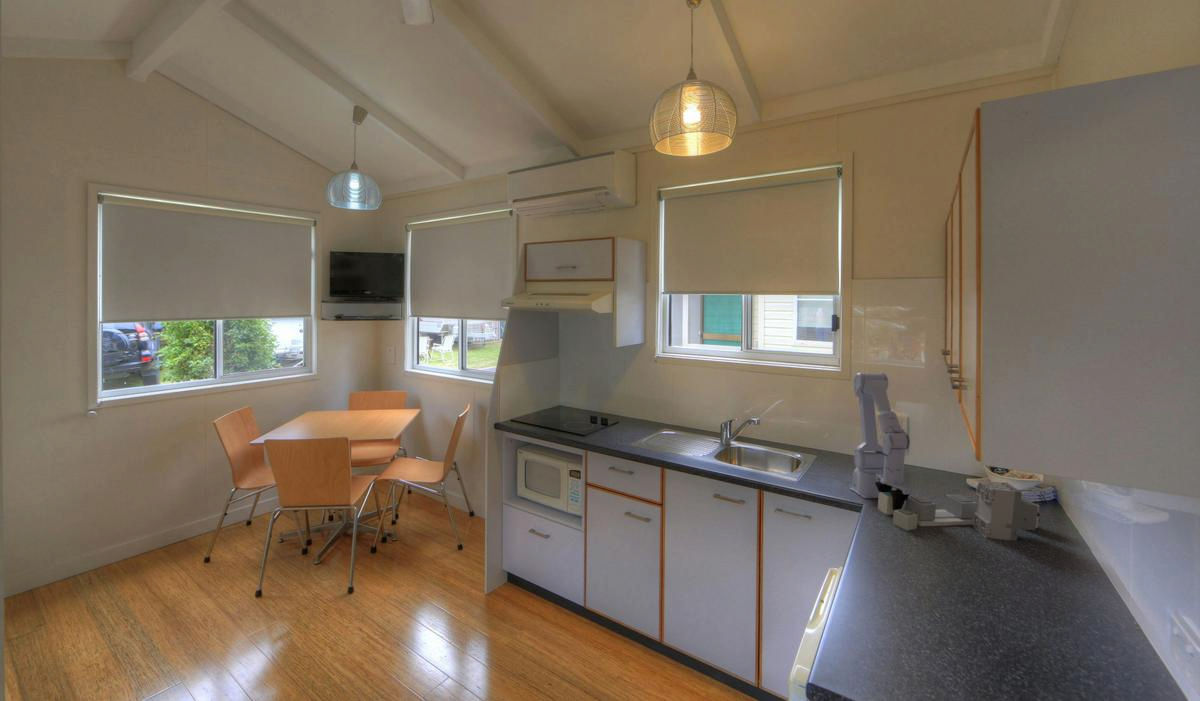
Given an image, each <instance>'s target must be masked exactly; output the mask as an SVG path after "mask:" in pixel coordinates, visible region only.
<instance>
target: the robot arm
mask: <svg viewBox="0 0 1200 701" xmlns="http://www.w3.org/2000/svg"><path fill="white" fill-rule="evenodd" d="M888 388H889V377H888V376H887V374H886V373H884V372H879V373H878V372H876V373H875V372H873V373H872V372H871V373H869V372H857V373H856V375H855V376H854V378H853V389H854V390H853V392H854V396H856V397H857V398H858V408H859V421H860V432H861V441H862V442H861V444H859V445H858V446H856V447H855V448H854V456H853V463H854V466H855V469H854V470H853V472H852V487H849V489H850V490H851V491H852V492H854V493H856V494H857V495H859V496H860V497H862V498H864V499H879V492H891V495H892V499H893V511H894V510H899V509H902V506H903V504H904V505H905V503H906V499H907V498H908V496H911V488H910V487H909V486H907V484H905V482H904V468H905V456H906V455H905V454H906V450H908V449H909V448H910V445H911V444H910V443H911V441H910V437H909V434H908V432H906V431H905V429H902V427H901V424H900V421H899V418H898V416H897V414H896V412H894V411H892V409H891V404H890V400H889V396H888V392H887V391H888ZM875 406H876V408H877V409H878V410H877V411H878V412H879V415H878V416H877V417H876V409H875ZM876 418H877V420H878V424H879V425H880V426H879V427H880V428H881V432H882V434H883V435H882V438H881V443H882V445H880V444H879V443H878V442H879V441H878V430H877V420H876ZM893 488H894V489H893ZM892 489H893V490H892Z"/></svg>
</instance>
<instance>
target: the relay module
mask: <svg viewBox="0 0 1200 701" xmlns="http://www.w3.org/2000/svg"><path fill="white" fill-rule="evenodd" d="M877 499H878V500H877V501H878V504H877V510H878V511H879V512H882V513H883V514H885V515H893V514H894V511H893V499H892V495H891V492H879V498H877ZM902 509H905V503H904V504H903V506H902Z"/></svg>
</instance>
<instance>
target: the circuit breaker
mask: <svg viewBox="0 0 1200 701" xmlns="http://www.w3.org/2000/svg"><path fill="white" fill-rule="evenodd" d="M977 483H978V484H977V486H976V495H977V496H978V499H979V500H978V505H977V512H976V513H974V524H973V526H972V527H973V528H974V530H976V531H977V532H978V533H979V534H980V535H982V536H983V537H984V538H985V539H994V540H1004V541H1012V542H1013V541H1014V542H1015V541H1018V532H1019V530H1024V529H1027V530H1026V531H1028V530H1029V531H1035V530H1036V528H1035V527H1036V518H1037V516H1039V517H1040V512H1039V513H1038V512H1037V509H1038V506H1037V505H1038V504H1037V503H1034V502H1033V501H1032V500H1030V499H1028V498H1026V497H1025V496H1023V494H1022V491H1021V490H1019V489H1018V488H1016V487H1014V486H1013V485H1012V484H1010V483H1008V482H1003V481H1002V482H999V481H988V480H978V482H977ZM1036 504H1037V505H1036ZM976 519H978V521H976Z"/></svg>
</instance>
